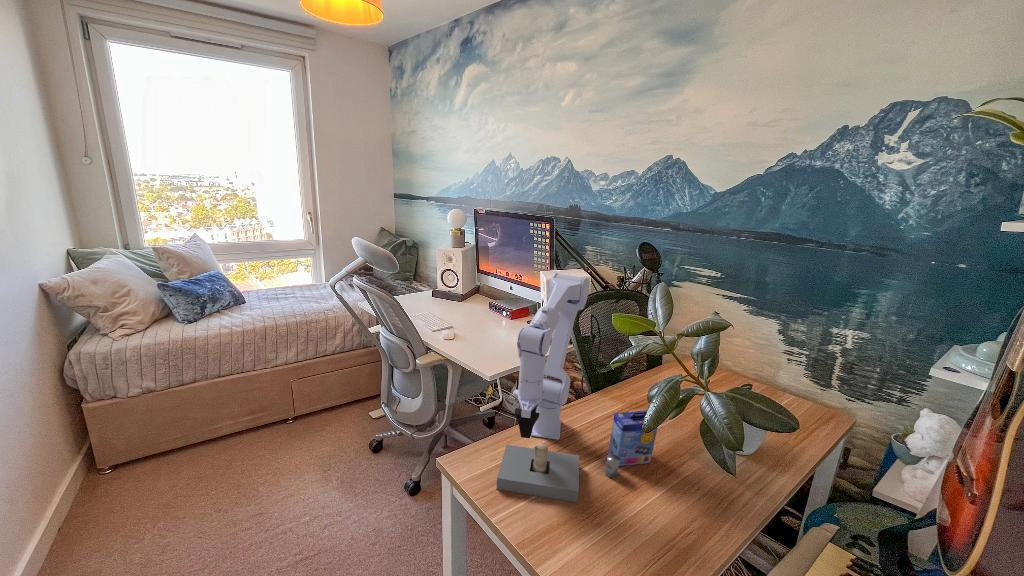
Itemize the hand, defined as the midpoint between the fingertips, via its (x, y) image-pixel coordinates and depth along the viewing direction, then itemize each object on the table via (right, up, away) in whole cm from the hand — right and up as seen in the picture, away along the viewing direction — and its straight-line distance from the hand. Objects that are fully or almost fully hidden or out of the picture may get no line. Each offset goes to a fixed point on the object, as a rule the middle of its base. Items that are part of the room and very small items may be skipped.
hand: (527, 427), depth 100 cm
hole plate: (+3, -11, -3) cm, 11 cm away
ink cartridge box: (+26, -10, +6) cm, 29 cm away
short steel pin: (+20, -11, 0) cm, 23 cm away
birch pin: (+3, -11, -3) cm, 11 cm away
